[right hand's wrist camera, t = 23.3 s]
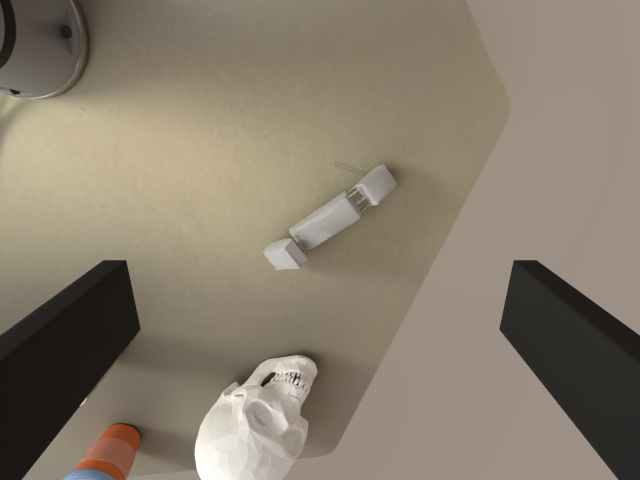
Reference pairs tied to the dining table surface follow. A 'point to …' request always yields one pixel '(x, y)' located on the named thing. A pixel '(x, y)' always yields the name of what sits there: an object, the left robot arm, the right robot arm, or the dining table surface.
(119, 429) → the cup with straw
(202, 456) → the skull
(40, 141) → the dining table surface
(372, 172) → the white segmented block model
